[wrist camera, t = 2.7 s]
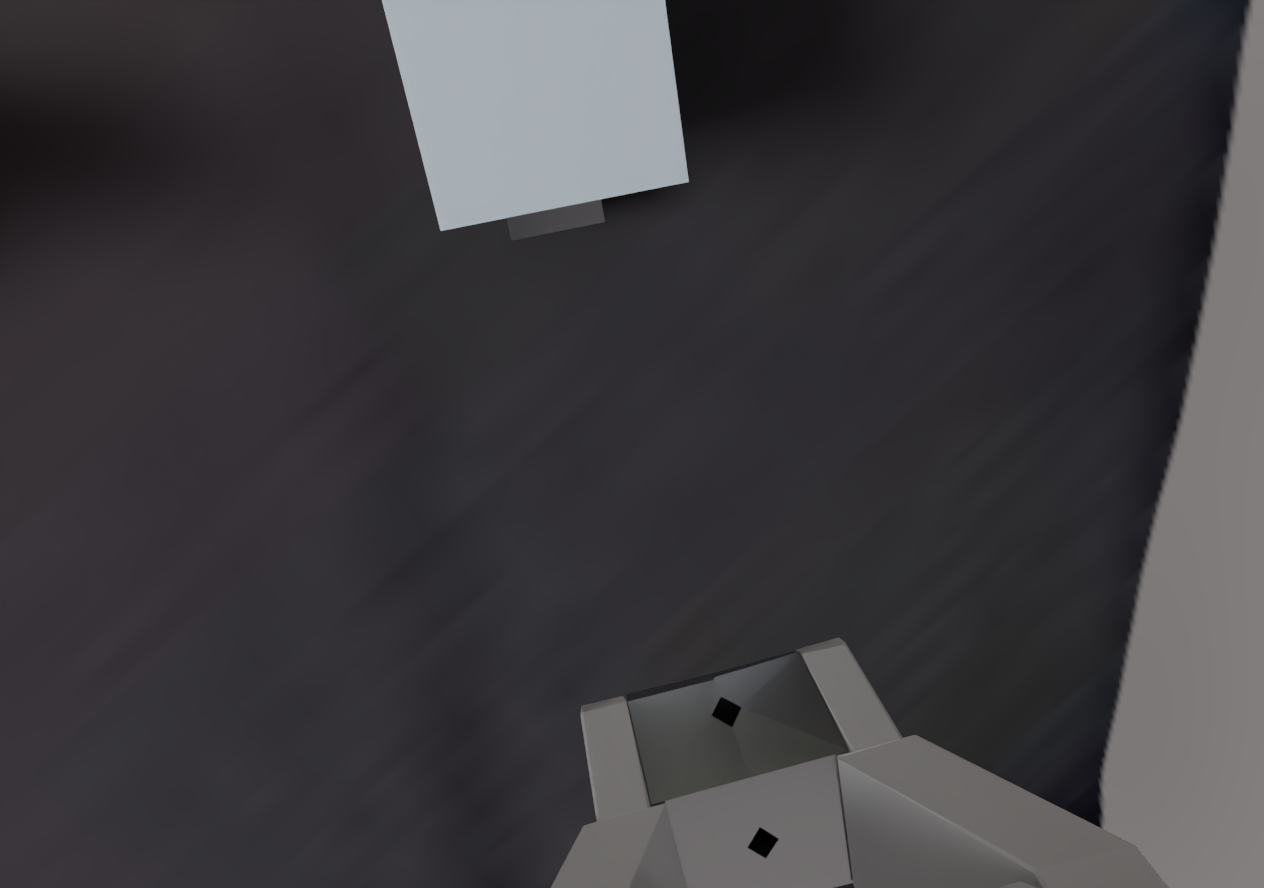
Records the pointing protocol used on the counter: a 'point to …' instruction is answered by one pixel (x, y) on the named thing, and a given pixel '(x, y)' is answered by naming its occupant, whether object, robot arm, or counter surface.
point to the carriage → (538, 102)
